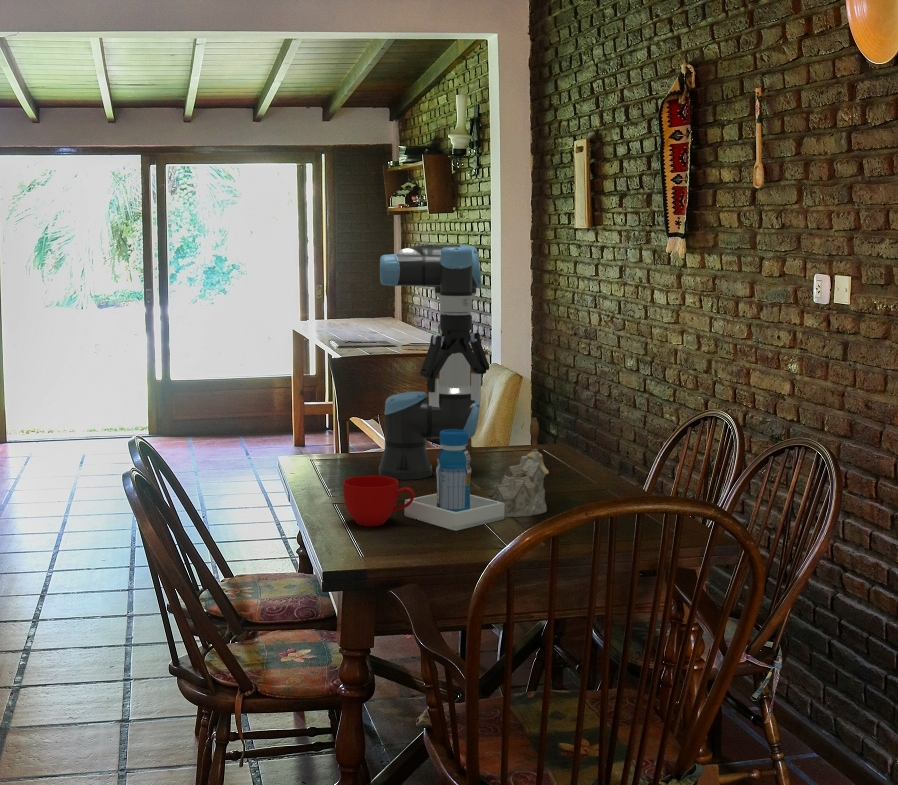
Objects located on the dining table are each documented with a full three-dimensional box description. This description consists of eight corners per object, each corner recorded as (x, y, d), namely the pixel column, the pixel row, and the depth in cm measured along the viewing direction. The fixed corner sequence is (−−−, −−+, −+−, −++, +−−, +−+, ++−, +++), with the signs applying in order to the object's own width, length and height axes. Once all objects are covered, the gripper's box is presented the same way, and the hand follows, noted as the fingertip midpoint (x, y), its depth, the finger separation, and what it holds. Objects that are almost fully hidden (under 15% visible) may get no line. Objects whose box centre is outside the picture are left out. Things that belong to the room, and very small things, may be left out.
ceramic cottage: (526, 498, 286) (525, 441, 283) (557, 515, 271) (557, 455, 268) (471, 507, 279) (470, 449, 276) (501, 525, 265) (499, 464, 262)
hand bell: (529, 476, 312) (530, 421, 310) (514, 471, 319) (515, 416, 317) (554, 474, 316) (555, 419, 314) (539, 468, 323) (540, 414, 321)
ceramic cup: (408, 532, 252) (408, 489, 250) (336, 528, 255) (336, 485, 253) (419, 518, 264) (419, 477, 263) (351, 514, 267) (351, 474, 266)
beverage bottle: (447, 519, 259) (447, 435, 257) (429, 511, 267) (429, 430, 264) (477, 515, 264) (478, 432, 261) (459, 507, 271) (459, 427, 268)
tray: (404, 516, 266) (404, 499, 266) (453, 505, 277) (453, 490, 277) (455, 530, 253) (455, 513, 253) (504, 519, 264) (504, 502, 264)
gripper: (426, 316, 247) (426, 410, 250) (504, 312, 264) (503, 399, 267) (405, 314, 253) (404, 406, 256) (482, 310, 270) (481, 396, 273)
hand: (455, 403), depth 262 cm, fingers open, 13 cm apart
